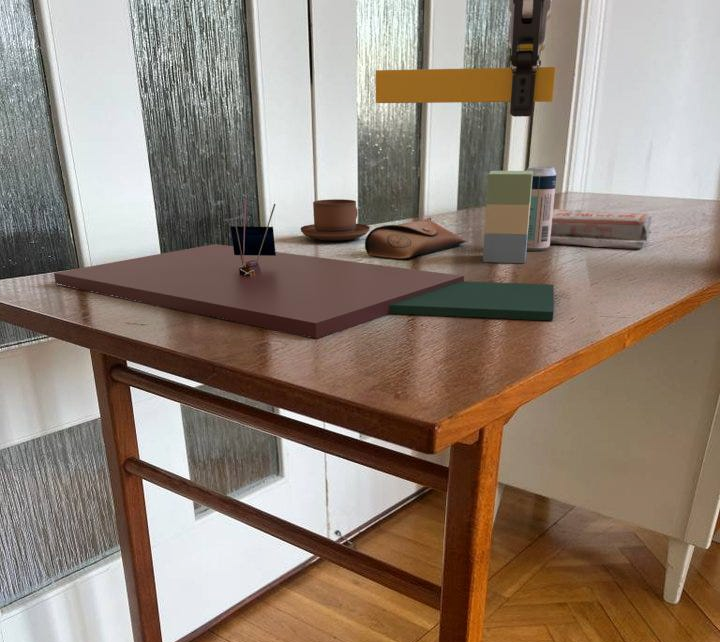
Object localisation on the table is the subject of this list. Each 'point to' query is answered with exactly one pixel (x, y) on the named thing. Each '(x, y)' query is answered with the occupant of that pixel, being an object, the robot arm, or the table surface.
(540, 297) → the mat
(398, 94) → the bar
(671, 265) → the table surface
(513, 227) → the tower
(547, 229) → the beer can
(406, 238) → the sunglasses case
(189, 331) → the table surface
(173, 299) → the board
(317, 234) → the cup and saucer
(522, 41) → the robot arm
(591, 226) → the packaged product
